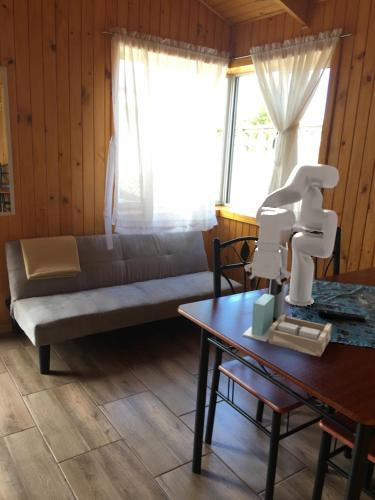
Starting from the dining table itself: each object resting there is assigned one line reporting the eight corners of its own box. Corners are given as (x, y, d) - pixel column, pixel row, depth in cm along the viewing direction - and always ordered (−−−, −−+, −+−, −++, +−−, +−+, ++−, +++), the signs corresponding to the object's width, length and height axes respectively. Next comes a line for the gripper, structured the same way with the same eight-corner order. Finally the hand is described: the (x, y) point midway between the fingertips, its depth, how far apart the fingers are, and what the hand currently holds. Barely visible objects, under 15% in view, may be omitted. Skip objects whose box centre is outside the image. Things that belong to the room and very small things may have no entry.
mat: (258, 320, 165) (258, 319, 165) (280, 326, 161) (280, 324, 161) (242, 335, 152) (242, 334, 152) (266, 341, 147) (266, 340, 147)
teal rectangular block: (251, 333, 152) (253, 303, 149) (262, 322, 162) (264, 293, 159) (261, 336, 150) (264, 305, 147) (272, 324, 160) (274, 295, 157)
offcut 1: (280, 338, 151) (281, 321, 149) (296, 342, 148) (298, 325, 146) (276, 342, 147) (278, 325, 146) (293, 346, 145) (295, 329, 143)
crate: (281, 327, 159) (283, 313, 158) (330, 339, 151) (331, 323, 149) (268, 343, 146) (269, 327, 145) (320, 356, 138) (322, 340, 136)
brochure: (281, 324, 163) (288, 250, 155) (267, 322, 164) (273, 249, 156) (281, 310, 176) (287, 242, 169) (267, 309, 177) (273, 241, 170)
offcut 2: (300, 343, 147) (302, 326, 146) (317, 347, 144) (319, 330, 143) (297, 347, 144) (299, 330, 142) (315, 352, 141) (317, 334, 139)
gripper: (242, 245, 149) (239, 289, 154) (289, 252, 141) (285, 299, 146) (249, 240, 156) (247, 283, 160) (295, 247, 147) (291, 292, 152)
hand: (265, 291), depth 153 cm, fingers open, 9 cm apart
